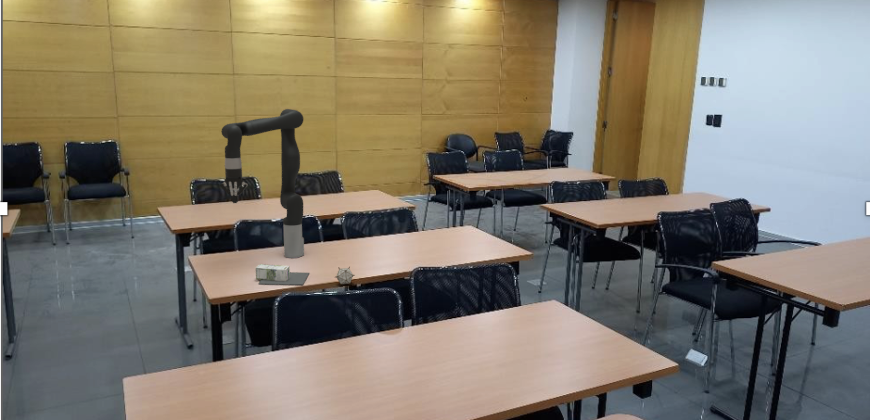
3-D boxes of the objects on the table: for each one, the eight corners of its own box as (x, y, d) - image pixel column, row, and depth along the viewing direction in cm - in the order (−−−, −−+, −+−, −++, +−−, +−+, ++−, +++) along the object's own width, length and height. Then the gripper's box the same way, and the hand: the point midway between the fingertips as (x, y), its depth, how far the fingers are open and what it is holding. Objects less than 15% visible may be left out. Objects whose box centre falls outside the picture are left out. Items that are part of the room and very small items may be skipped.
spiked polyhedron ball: (347, 293, 284) (349, 281, 277) (330, 285, 285) (332, 273, 278) (356, 279, 290) (358, 266, 283) (339, 271, 291) (342, 258, 284)
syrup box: (260, 275, 292) (290, 277, 290) (255, 279, 286) (286, 281, 285) (259, 263, 290) (290, 265, 289) (255, 267, 285) (285, 269, 283)
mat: (258, 284, 281) (258, 283, 281) (267, 272, 297) (267, 271, 297) (302, 285, 282) (302, 284, 282) (309, 273, 297) (309, 272, 297)
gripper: (249, 166, 297) (251, 201, 301) (221, 165, 297) (223, 200, 301) (245, 168, 290) (246, 204, 294) (216, 168, 290) (218, 204, 294)
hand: (235, 202), depth 298 cm, fingers closed
